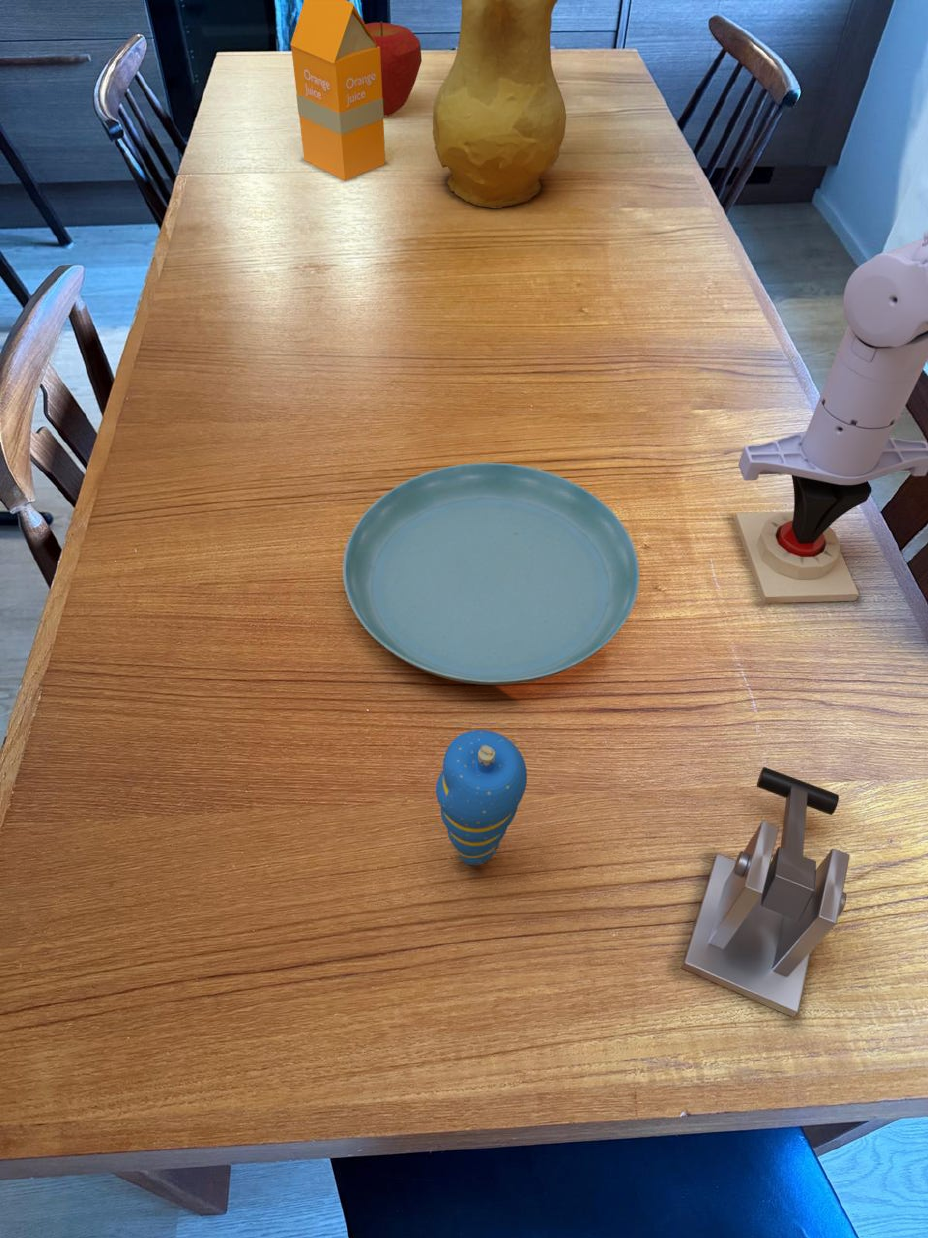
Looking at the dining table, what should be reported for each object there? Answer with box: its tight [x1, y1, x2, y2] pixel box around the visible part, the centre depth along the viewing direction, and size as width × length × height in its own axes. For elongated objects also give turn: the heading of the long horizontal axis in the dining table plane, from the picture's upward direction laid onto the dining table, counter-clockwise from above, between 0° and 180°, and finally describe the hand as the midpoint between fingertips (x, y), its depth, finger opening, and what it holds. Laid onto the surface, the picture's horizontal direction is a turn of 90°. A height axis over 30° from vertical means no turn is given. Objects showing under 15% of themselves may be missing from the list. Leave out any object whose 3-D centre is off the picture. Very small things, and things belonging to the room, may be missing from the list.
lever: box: [756, 766, 840, 921], centre depth 55 cm, size 12×5×2 cm, turn 156°
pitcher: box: [432, 0, 567, 209], centre depth 113 cm, size 17×19×25 cm
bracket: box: [681, 820, 851, 1018], centre depth 54 cm, size 8×7×10 cm
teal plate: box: [342, 462, 640, 686], centre depth 74 cm, size 24×24×3 cm
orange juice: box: [289, 0, 386, 182], centre depth 118 cm, size 8×9×20 cm
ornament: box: [435, 729, 528, 866], centre depth 54 cm, size 5×5×15 cm
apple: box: [365, 20, 423, 117], centre depth 132 cm, size 11×11×12 cm
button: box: [777, 520, 824, 557], centre depth 77 cm, size 4×4×2 cm
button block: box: [733, 511, 860, 604], centre depth 77 cm, size 10×8×2 cm
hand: (802, 535), depth 76 cm, fingers closed, pressing on button
